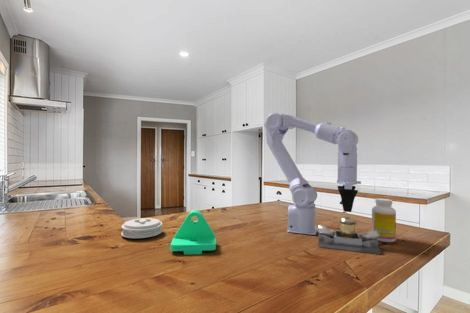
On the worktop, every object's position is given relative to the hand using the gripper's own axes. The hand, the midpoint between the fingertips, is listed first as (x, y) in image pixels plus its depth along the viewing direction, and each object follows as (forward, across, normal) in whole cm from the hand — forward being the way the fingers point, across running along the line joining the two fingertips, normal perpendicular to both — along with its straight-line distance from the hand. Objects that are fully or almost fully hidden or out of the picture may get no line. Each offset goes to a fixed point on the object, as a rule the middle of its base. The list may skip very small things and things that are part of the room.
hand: (346, 209), depth 82 cm
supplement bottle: (+10, +4, -11) cm, 15 cm away
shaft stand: (+9, -7, 0) cm, 12 cm away
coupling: (+8, -7, 0) cm, 11 cm away
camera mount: (+10, -28, +40) cm, 50 cm away
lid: (+10, -22, +63) cm, 67 cm away
